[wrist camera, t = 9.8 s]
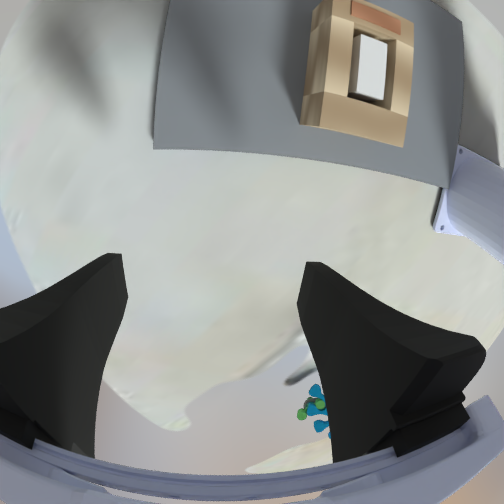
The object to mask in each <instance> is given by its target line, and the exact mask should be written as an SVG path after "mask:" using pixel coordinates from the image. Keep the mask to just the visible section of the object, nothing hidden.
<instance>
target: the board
mask: <svg viewBox="0 0 504 504" xmlns="http://www.w3.org/2000/svg"><path fill="white" fill-rule="evenodd" d="M322 1H323V0H170V4H169V9H168V14H167V20H166V25H165V31H164V37H163V43H162V50H161V57H160V65H159V74H158V83H157V93H156V105H155V120H154V140H153V149H187V150H215V151H232V152H246V153H258V154H268V155H278V156H287V157H295V158H302V159H310V160H317V161H323V162H330V163H336V164H342V165H347V166H353V167H358V168H363V169H368V170H373V171H378V172H383V173H387V174H392V175H396V176H400V177H404V178H409V179H413V180H416V181H420V182H424V183H428V184H431V185H435V186H439V187H442V188H445V189H449V187H450V183H451V178H452V174H453V169H454V164H455V159H456V153H457V147H458V141H459V134H460V126H461V117H462V106H463V92H464V42H463V28H462V21H460V20H459V19H457V18H456V17H455V16H453V15H452V14H450V13H449V12H448V11H446V10H445V9H443V8H442V7H440V6H438V5H437V4H435V3H434V2H432V1H430V0H364V1H367V2H369V3H372V4H374V5H377V6H379V7H381V8H384V9H386V10H388V11H390V12H392V13H394V14H397V15H399V16H401V17H403V18H405V19H407V20H409V21H410V22H412V23H414V52H413V71H412V84H411V95H410V104H409V112H408V119H407V126H406V133H405V139H404V145H403V148H402V147H398V146H394V145H390V144H386V143H382V142H378V141H373V140H369V139H366V138H362V137H358V136H354V135H349V134H345V133H341V132H336V131H331V130H326V129H321V128H316V127H311V126H305V125H299V124H300V117H301V109H302V101H303V94H304V85H305V77H306V69H307V60H308V51H309V42H310V32H311V22H312V12H313V10H314V9H315V8H316V7H317V6H318V5H319V4H320V3H321V2H322ZM386 61H387V44H386V43H383V42H381V41H378V40H376V39H373V38H371V37H368V36H365V35H362V34H360V35H358V36H356V37H354V38H353V45H352V56H351V67H350V77H349V85H348V94H347V97H349V98H352V99H356V100H359V101H365V100H383V97H384V87H385V75H386Z"/></svg>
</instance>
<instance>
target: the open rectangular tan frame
mask: <svg viewBox="0 0 504 504" xmlns="http://www.w3.org/2000/svg"><path fill="white" fill-rule="evenodd" d="M360 34H362V35H365V36H368V37H371V38H373V39H376V40H378V41H381V42H383V43H386V44H387V61H386V75H385V87H384V97H383V100H365V101H359V100H356V99H352V98H349V97H347V94H348V85H349V77H350V67H351V56H352V45H353V38H354V37H356V36H358V35H360ZM413 52H414V23H412V22H410V21H409V20H407V19H405V18H403V17H401V16H399V15H397V14H394V13H392V12H390V11H388V10H386V9H384V8H381V7H379V6H377V5H374V4H372V3H369V2H367V1H364V0H323V1H322V2H321V3H320V4H319V5H318V6H317V7H316V8H315V9H314V10H313V12H312V22H311V32H310V42H309V51H308V60H307V69H306V77H305V85H304V94H303V101H302V109H301V117H300V124H299V125H305V126H311V127H316V128H321V129H326V130H331V131H336V132H341V133H345V134H349V135H354V136H358V137H362V138H366V139H369V140H373V141H378V142H382V143H386V144H390V145H394V146H398V147H402V148H403V145H404V139H405V133H406V126H407V119H408V112H409V104H410V95H411V84H412V71H413Z"/></svg>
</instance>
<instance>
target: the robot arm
mask: <svg viewBox="0 0 504 504" xmlns="http://www.w3.org/2000/svg"><path fill="white" fill-rule="evenodd" d="M459 150H460V151H459ZM433 230H434V231H435V232H438V233H446V234H453V235H459V236H466V237H467V238H468V239H470V240H471V241H473V242H474V243H475V244H477V245H478V246H480V247H481V248H482V249H484V250H485V251H486V252H488V253H489V254H490V255H492V256H493V257H494V258H495V259H497V260H498V261H499V262H500V263H502V264H503V265H504V168H502V167H500V166H498V165H496V164H495V163H493V162H491V161H489V160H488V159H486V158H484V157H482V156H480V155H478V154H476V153H475V152H473V151H471V150H469V149H467V148H465V147H463V146H461V145H458V147H457V153H456V159H455V164H454V169H453V174H452V178H451V183H450V187H449V189H445V188H443V190H442V194H441V198H440V202H439V206H438V209H437V213H436V217H435V220H434V223H433ZM127 300H128V293H127V288H126V282H125V275H124V269H123V262H122V254H116V253H107V254H104V255H102V256H100V257H99V258H97V259H95V260H93V261H92V262H90V263H89V264H87V265H85V266H84V267H82V268H80V269H79V270H77V271H76V272H74V273H73V274H71V275H69V276H68V277H66V278H64V279H62V280H61V281H59V282H57V283H56V284H54V285H52V286H51V287H49V288H47V289H45V290H43V291H41V292H39V293H37V294H35V295H33V296H31V297H29V298H27V299H24V300H22V301H19V302H17V303H15V304H12V305H9V306H7V307H4V308H1V309H0V499H1V500H2V501H3V502H5V503H6V504H159V503H152V502H145V501H139V500H134V499H129V498H125V497H120V496H116V495H112V494H110V493H109V492H107V491H106V490H105V489H104V488H103V487H101V486H98V485H95V484H99V485H102V486H106V487H110V488H114V489H118V490H122V491H127V492H132V493H137V494H143V495H149V496H156V497H163V498H173V499H182V500H197V501H246V500H260V499H271V498H280V497H288V496H294V495H300V494H306V493H312V492H316V491H321V490H324V491H323V492H322V493H321V495H320V496H319V497H317V498H315V499H312V500H305V501H298V502H291V503H284V504H439V503H441V502H442V501H444V500H445V499H447V498H448V497H449V496H451V495H452V494H453V493H455V492H456V491H457V490H459V489H460V488H461V487H462V486H464V485H465V484H466V483H467V482H469V481H470V480H471V479H472V478H473V477H475V476H476V475H477V474H478V473H479V472H480V471H481V470H483V469H484V468H485V467H486V466H487V465H488V464H489V463H490V462H491V461H493V460H494V459H495V458H496V457H497V456H498V455H499V454H500V453H501V452H502V451H503V450H504V420H503V419H502V417H501V415H500V414H499V412H498V410H497V409H496V407H495V405H494V404H493V402H492V401H491V399H490V397H489V396H488V395H485V396H483V397H482V398H480V399H478V400H477V401H475V402H473V403H472V404H470V405H469V406H467V407H466V408H464V406H463V405H462V402H463V401H464V400H465V395H464V394H463V392H462V391H463V390H464V388H465V387H466V386H467V385H468V384H469V382H470V381H471V380H472V379H473V377H474V376H475V375H476V373H477V372H478V371H479V369H480V368H481V366H482V365H483V363H484V361H485V357H486V350H485V348H484V347H483V346H482V345H481V343H480V342H479V341H478V340H477V339H476V338H475V337H473V336H469V335H465V334H461V333H456V332H452V331H448V330H445V329H442V328H439V327H435V326H432V325H430V324H427V323H424V322H422V321H419V320H417V319H415V318H412V317H410V316H407V315H405V314H403V313H401V312H399V311H397V310H395V309H393V308H392V307H390V306H388V305H386V304H384V303H382V302H381V301H379V300H377V299H376V298H374V297H372V296H371V295H369V294H368V293H366V292H365V291H363V290H362V289H360V288H359V287H357V286H356V285H354V284H353V283H351V282H350V281H349V280H347V279H346V278H344V277H343V276H341V275H340V274H339V273H337V272H336V271H334V270H333V269H331V268H330V267H328V266H327V265H325V264H323V263H321V262H306V265H305V270H304V274H303V279H302V283H301V288H300V292H299V296H298V301H297V307H298V312H299V317H300V321H301V325H302V328H303V331H304V334H305V336H306V339H307V342H308V344H309V347H310V350H311V353H312V355H313V358H314V361H315V363H316V366H317V369H318V372H319V376H320V379H321V384H322V388H323V393H324V398H325V403H326V409H327V414H328V421H329V428H330V435H331V445H332V457H333V463H332V464H328V465H323V466H318V467H312V468H306V469H300V470H293V471H285V472H277V473H266V474H252V475H192V474H179V473H168V472H160V471H152V470H146V469H139V468H134V467H128V466H123V465H118V464H114V463H109V462H105V461H101V460H97V459H95V455H94V442H95V441H94V440H95V439H94V438H95V421H96V411H97V402H98V396H99V390H100V385H101V380H102V375H103V371H104V367H105V364H106V361H107V358H108V355H109V352H110V350H111V347H112V344H113V342H114V339H115V337H116V334H117V332H118V329H119V326H120V324H121V321H122V319H123V315H124V312H125V308H126V304H127ZM90 482H91V483H90ZM92 483H95V484H92ZM326 489H327V490H326Z"/></svg>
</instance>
